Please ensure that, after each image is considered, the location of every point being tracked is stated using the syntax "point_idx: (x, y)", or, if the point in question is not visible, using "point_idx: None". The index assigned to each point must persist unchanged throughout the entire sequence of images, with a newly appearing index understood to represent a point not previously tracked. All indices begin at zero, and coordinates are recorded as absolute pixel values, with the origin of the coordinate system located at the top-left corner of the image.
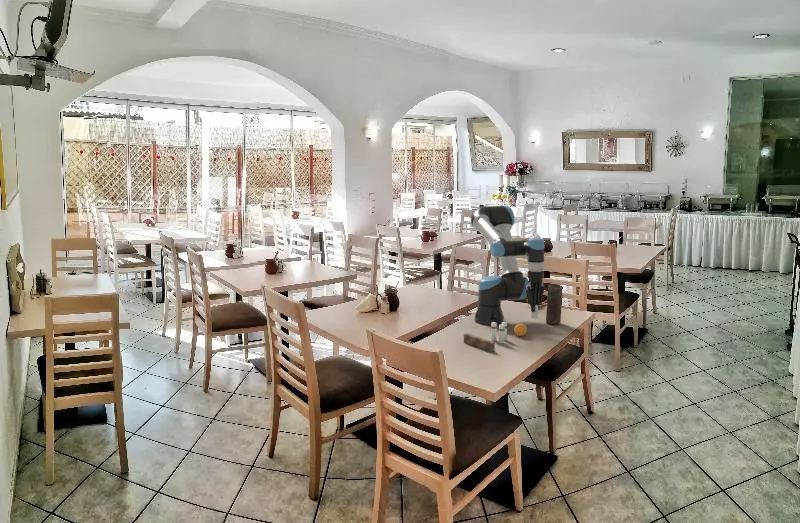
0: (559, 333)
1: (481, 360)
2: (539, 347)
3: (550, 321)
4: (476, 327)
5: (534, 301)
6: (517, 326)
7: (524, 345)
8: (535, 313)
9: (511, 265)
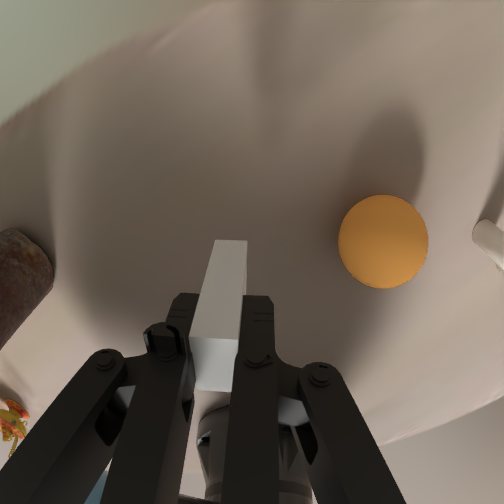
0: (115, 92)
1: None
2: (464, 12)
3: (39, 261)
4: (375, 410)
5: (271, 404)
6: (425, 256)
7: (494, 96)
8: (243, 275)
9: None
